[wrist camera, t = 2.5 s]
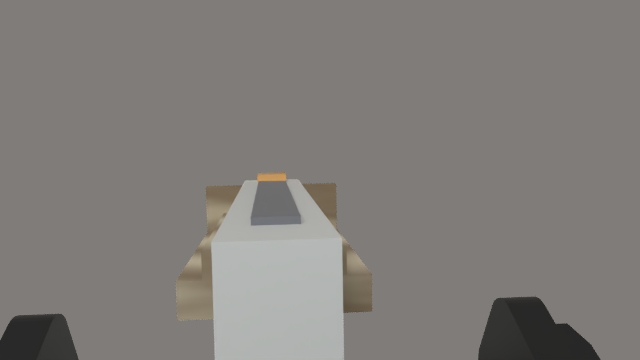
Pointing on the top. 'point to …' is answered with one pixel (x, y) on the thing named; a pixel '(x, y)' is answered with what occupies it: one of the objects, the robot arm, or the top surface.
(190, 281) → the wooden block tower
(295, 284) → the power strip
